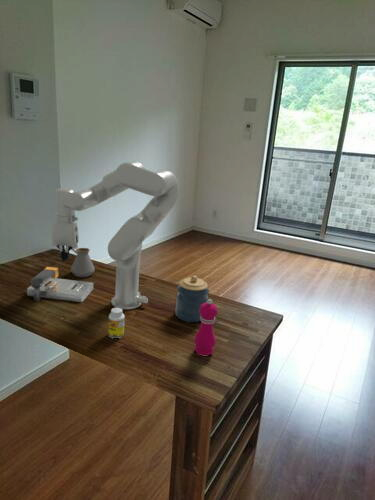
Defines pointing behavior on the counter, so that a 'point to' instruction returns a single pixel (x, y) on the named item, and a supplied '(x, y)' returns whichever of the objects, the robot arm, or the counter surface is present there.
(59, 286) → the panel
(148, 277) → the counter surface
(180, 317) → the canister
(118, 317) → the supplement bottle
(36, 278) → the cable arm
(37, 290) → the pivot post
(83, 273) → the coffee pot
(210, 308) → the pepper mill
